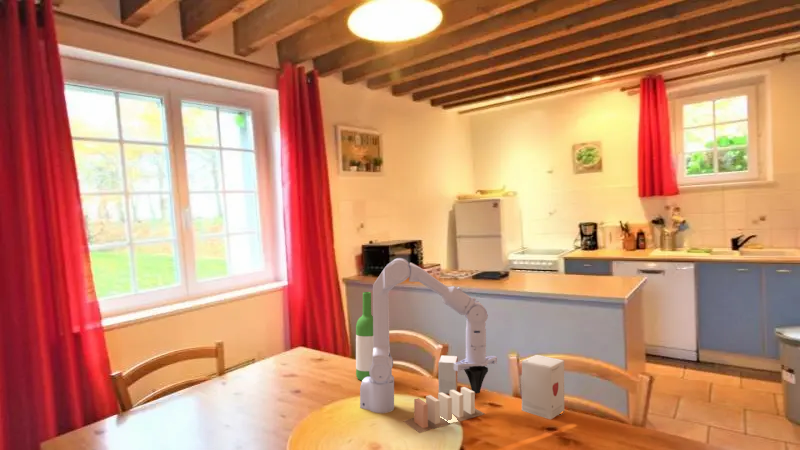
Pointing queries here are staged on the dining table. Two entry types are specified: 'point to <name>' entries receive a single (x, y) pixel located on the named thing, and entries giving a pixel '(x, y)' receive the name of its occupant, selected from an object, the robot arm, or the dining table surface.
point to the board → (442, 421)
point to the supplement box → (543, 386)
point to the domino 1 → (421, 413)
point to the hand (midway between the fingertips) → (475, 392)
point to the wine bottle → (364, 339)
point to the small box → (447, 374)
